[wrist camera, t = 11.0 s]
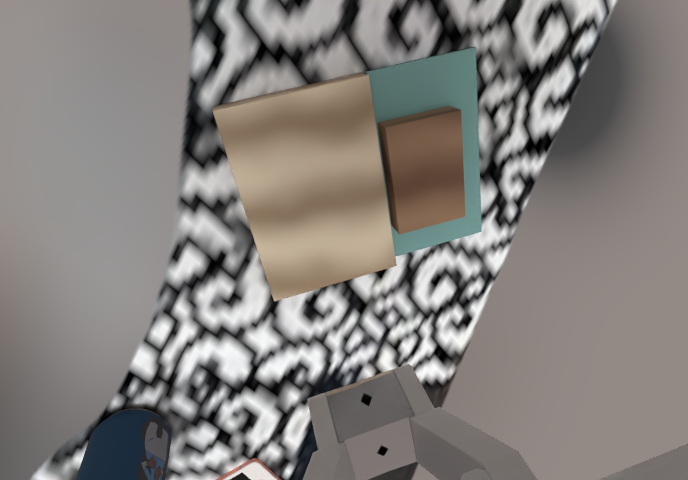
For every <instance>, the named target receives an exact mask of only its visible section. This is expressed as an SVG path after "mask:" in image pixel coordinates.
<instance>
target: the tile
mask: <svg viewBox="0 0 688 480" xmlns="http://www.w3.org/2000/svg"><path fill="white" fill-rule="evenodd" d="M378 129H379V137H380V144H381V151H382V159H383V166H384V174H385V181H386V189H387V196H388V204H389V211H390V219H391V225H392V226H393V228H394V229H395V230H396V231H397V232H398V234H399V235H400V234H403V233H407V232H411V231H414V230H418V229H422V228H425V227H429V226H433V225H436V224H440V223H444V222H447V221H451V220H455V219H458V218H462V217H466V215H465V191H464V166H463V142H462V117H461V110H460V109H457V108H454V107H451V106H446V107H442V108H438V109H433V110H429V111H425V112H421V113H416V114H412V115H408V116H404V117H399V118H395V119H391V120H387V121H383V122H378Z"/></svg>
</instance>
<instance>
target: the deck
mask: <svg viewBox="0 0 688 480" xmlns="http://www.w3.org/2000/svg"><path fill="white" fill-rule="evenodd" d="M213 113H214V117H215V120H216V123H217V126H218V129H219V132H220V135H221V138H222V141H223V144H224V148H225V151H226V154H227V157H228V160H229V163H230V166H231V169H232V172H233V175H234V178H235V182H236V185H237V188H238V191H239V194H240V197H241V200H242V203H243V206H244V209H245V212H246V216H247V219H248V222H249V225H250V228H251V231H252V234H253V237H254V240H255V243H256V247H257V250H258V253H259V256H260V259H261V262H262V265H263V268H264V271H265V274H266V277H267V281H268V284H269V287H270V290H271V293H272V296H273V299H274V301H277V300H281V299H284V298H288V297H291V296H294V295H298V294H301V293H305V292H308V291H312V290H315V289H318V288H322V287H325V286H329V285H332V284H336V283H339V282H342V281H346V280H349V279H353V278H356V277H359V276H363V275H366V274H370V273H373V272H377V271H380V270H383V269H387V268H390V267H394V266H396V259H395V252H394V245H393V238H392V231H391V225H390V218H389V211H388V204H387V197H386V190H385V183H384V177H383V170H382V163H381V156H380V149H379V142H378V135H377V128H376V122H375V115H374V108H373V101H372V94H371V87H370V80H369V75H367V74H364V73H358V74H353V75H349V76H345V77H340V78H336V79H331V80H327V81H323V82H318V83H314V84H310V85H305V86H301V87H297V88H292V89H288V90H284V91H279V92H275V93H270V94H266V95H262V96H257V97H253V98H249V99H244V100H240V101H236V102H231V103H227V104H222V105H218V106H214V108H213Z"/></svg>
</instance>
